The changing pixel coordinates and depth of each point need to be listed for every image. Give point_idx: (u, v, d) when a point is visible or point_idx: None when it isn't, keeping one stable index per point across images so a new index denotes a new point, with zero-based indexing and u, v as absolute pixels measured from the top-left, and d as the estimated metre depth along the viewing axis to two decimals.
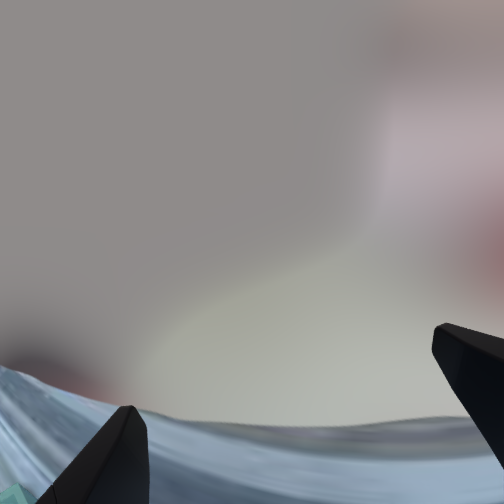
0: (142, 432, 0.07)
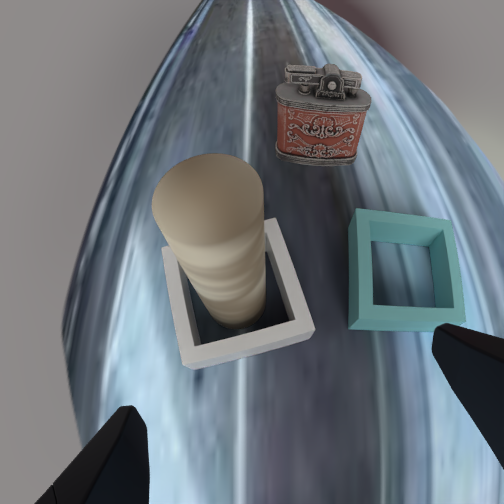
0: (142, 432, 0.07)
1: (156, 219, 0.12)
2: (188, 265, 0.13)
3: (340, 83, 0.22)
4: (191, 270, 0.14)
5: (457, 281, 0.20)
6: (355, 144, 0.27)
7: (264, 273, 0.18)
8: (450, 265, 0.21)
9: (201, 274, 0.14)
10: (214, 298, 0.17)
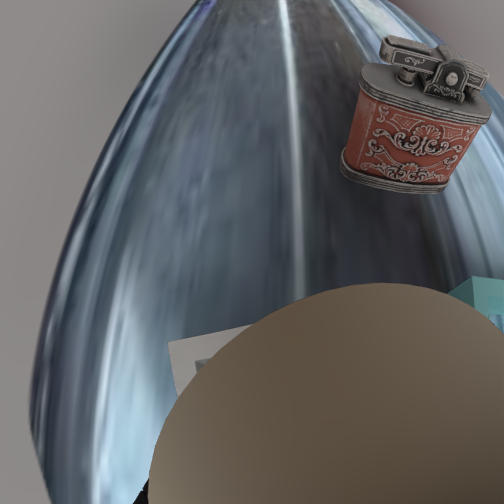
0: None
1: None
2: None
3: (463, 77, 0.11)
4: None
5: None
6: (455, 167, 0.17)
7: None
8: None
9: None
10: None
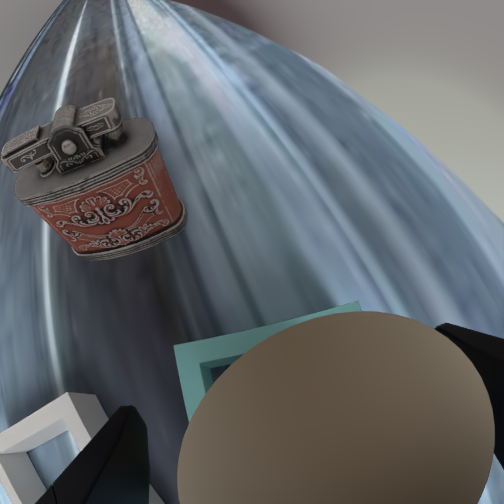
0: (142, 432, 0.07)
1: None
2: None
3: (79, 136, 0.11)
4: None
5: None
6: (169, 206, 0.17)
7: None
8: None
9: None
10: None
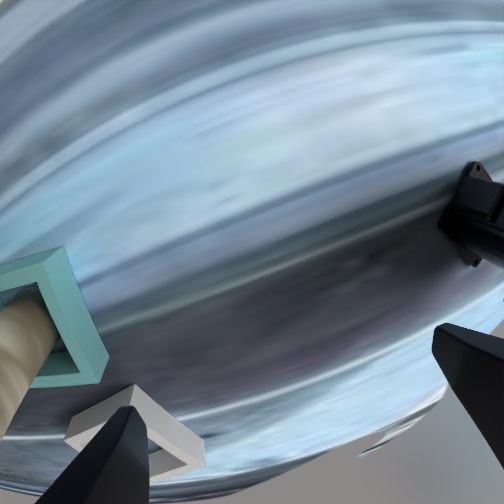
0: (142, 432, 0.07)
1: None
2: (1, 437, 0.09)
3: None
4: (4, 430, 0.10)
5: (8, 279, 0.15)
6: None
7: None
8: None
9: (4, 425, 0.10)
10: (26, 384, 0.13)
